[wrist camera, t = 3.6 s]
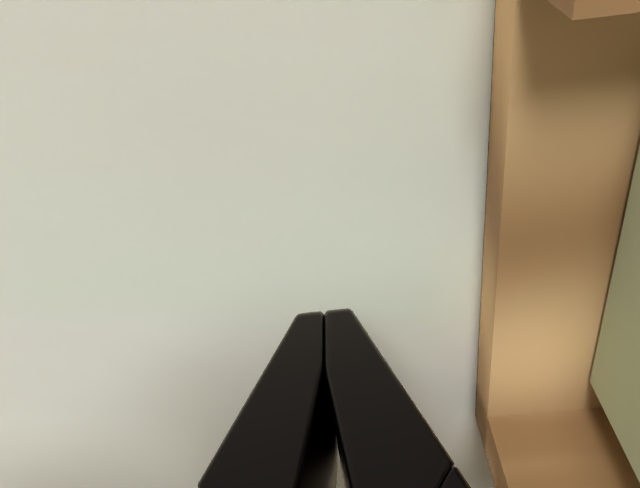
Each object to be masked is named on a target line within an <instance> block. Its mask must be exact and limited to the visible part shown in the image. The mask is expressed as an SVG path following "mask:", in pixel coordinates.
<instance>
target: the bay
mask: <svg viewBox="0 0 640 488" xmlns="http://www.w3.org/2000/svg"><path fill="white" fill-rule="evenodd" d="M639 145H640V0H496V11H495V31H494V51H493V71H492V91H491V111H490V131H489V152H488V172H487V192H486V212H485V232H484V252H483V272H482V292H481V313H480V333H479V353H478V373H477V393H476V413H475V416H476V419H477V423H478V426H479V430H480V434H481V437H482V441H483V445H484V448H485V452H486V455H487V459H488V463H489V466H490V470H491V473H492V477H493V481H494V484H495V488H640V483H639V481H638V479H637V477H636V475H635V472H634V470H633V468H632V466H631V464H630V462H629V460H628V458H627V456H626V454H625V452H624V450H623V448H622V446H621V444H620V442H619V440H618V438H617V436H616V434H615V432H614V430H613V428H612V426H611V424H610V422H609V420H608V418H607V416H606V414H605V412H604V410H603V408H602V406H601V403H600V401H599V399H598V397H597V395H596V393H595V391H594V389H593V387H592V385H591V383H590V377H591V373H592V368H593V363H594V358H595V354H596V349H597V344H598V339H599V335H600V330H601V325H602V320H603V316H604V311H605V306H606V301H607V297H608V292H609V287H610V282H611V278H612V273H613V268H614V263H615V259H616V254H617V249H618V245H619V240H620V235H621V230H622V226H623V221H624V216H625V211H626V207H627V202H628V197H629V192H630V188H631V183H632V178H633V173H634V169H635V164H636V159H637V154H638V150H639Z"/></svg>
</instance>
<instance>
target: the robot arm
mask: <svg viewBox="0 0 640 488" xmlns="http://www.w3.org/2000/svg"><path fill="white" fill-rule="evenodd" d="M337 444H338V450H339V456H340V462H341V468H342V473H343V478H344V482H345V487H346V488H471V487H470V486H469V484H468V483H467V481H466V480H465V478H464V477H463V475H462V474H461V472H460V471H459V469H458V468H457V467H454V462H453V461H452V459H451V458H450V456H449V455H448V453H447V452H446V450H445V449H444V447H443V446H442V444H441V443H440V441H439V440H438V438H437V437H436V435H435V434H434V432H433V431H432V429H431V428H430V426H429V425H428V423H427V422H426V420H425V419H424V417H423V416H422V414H421V413H420V411H419V410H418V408H417V407H416V405H415V404H414V403H413V401H412V400H411V398H410V397H409V395H408V394H407V392H406V391H405V389H404V388H403V386H402V385H401V383H400V382H399V380H398V379H397V377H396V376H395V374H394V373H393V371H392V370H391V368H390V367H389V365H388V364H387V362H386V361H385V359H384V358H383V356H382V355H381V353H380V352H379V350H378V349H377V347H376V346H375V344H374V343H373V341H372V340H371V338H370V337H369V335H368V334H367V332H366V331H365V329H364V328H363V326H362V325H361V323H360V322H359V320H358V319H357V317H356V316H355V314H354V313H353V311H351V310H350V309H339V310H329V311H327V312H326V313H325V315H324V314H323V313H322V312H309V313H301V314H298V315H297V316H296V317H295V319H294V321H293V322H292V324H291V326H290V327H289V329H288V331H287V333H286V334H285V336H284V338H283V339H282V341H281V343H280V345H279V346H278V348H277V350H276V351H275V353H274V355H273V357H272V358H271V360H270V362H269V363H268V365H267V367H266V369H265V370H264V372H263V374H262V375H261V377H260V379H259V380H258V382H257V384H256V386H255V387H254V389H253V391H252V392H251V394H250V396H249V398H248V399H247V401H246V403H245V404H244V406H243V408H242V410H241V411H240V413H239V415H238V416H237V418H236V420H235V422H234V423H233V425H232V427H231V428H230V430H229V432H228V434H227V435H226V437H225V439H224V440H223V442H222V444H221V445H220V447H219V449H218V451H217V452H216V454H215V456H214V457H213V459H212V461H211V463H210V464H209V466H208V468H207V469H206V471H205V473H204V475H203V476H202V478H201V480H200V481H199V483H198V488H336V476H337Z"/></svg>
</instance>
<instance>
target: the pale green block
mask: <svg viewBox="0 0 640 488" xmlns="http://www.w3.org/2000/svg"><path fill="white" fill-rule="evenodd" d="M590 383H591V385H592V387H593V389H594V391H595V393H596V395H597V397H598V399H599V401H600V403H601V406H602V408H603V410H604V412H605V414H606V416H607V418H608V420H609V422H610V424H611V426H612V428H613V430H614V432H615V434H616V436H617V438H618V440H619V442H620V444H621V446H622V448H623V450H624V452H625V454H626V456H627V458H628V460H629V462H630V464H631V466H632V468H633V470H634V472H635V475H636V477H637V479H638V481H639V483H640V145H639V150H638V154H637V159H636V164H635V169H634V173H633V178H632V183H631V188H630V192H629V197H628V202H627V207H626V211H625V216H624V221H623V226H622V230H621V235H620V240H619V245H618V249H617V254H616V259H615V263H614V268H613V273H612V278H611V282H610V287H609V292H608V297H607V301H606V306H605V311H604V316H603V320H602V325H601V330H600V335H599V339H598V344H597V349H596V354H595V358H594V363H593V368H592V373H591V377H590Z"/></svg>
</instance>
